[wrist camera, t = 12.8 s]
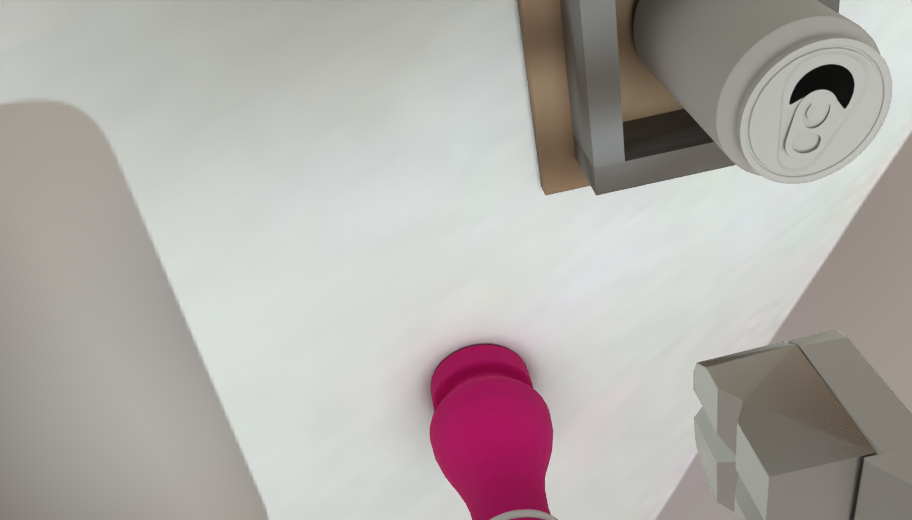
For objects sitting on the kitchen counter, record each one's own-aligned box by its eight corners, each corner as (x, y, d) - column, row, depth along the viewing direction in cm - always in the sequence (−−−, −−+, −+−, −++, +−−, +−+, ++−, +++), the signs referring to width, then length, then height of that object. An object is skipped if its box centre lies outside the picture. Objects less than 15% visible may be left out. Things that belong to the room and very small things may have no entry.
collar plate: (503, -106, 36) (526, -84, 32) (833, -176, 36) (898, -163, 32) (541, 186, 44) (563, 234, 40) (808, 128, 45) (857, 169, 40)
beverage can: (775, -49, 38) (935, 35, 28) (732, 82, 41) (861, 198, 32) (647, -64, 37) (767, 19, 27) (613, 72, 40) (709, 189, 30)
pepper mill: (436, 330, 49) (493, 641, 32) (549, 342, 51) (657, 643, 34) (412, 418, 53) (452, 737, 36) (518, 427, 54) (602, 735, 38)
